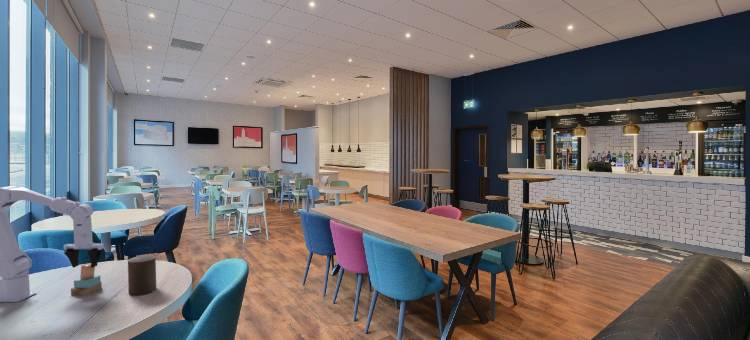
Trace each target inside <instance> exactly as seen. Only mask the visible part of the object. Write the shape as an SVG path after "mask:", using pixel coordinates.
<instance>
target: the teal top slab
mask: <svg viewBox="0 0 750 340" xmlns="http://www.w3.org/2000/svg"><path fill="white" fill-rule="evenodd" d="M100 282H101V283H102V281H101V275H99V274H97V275H96V274H94V277H93V278H90V279H81V278H80V277H78V278H77V279H75V280H73V287H74V288H90V287H92V286H94V285H96V284H98V283H100Z"/></svg>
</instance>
